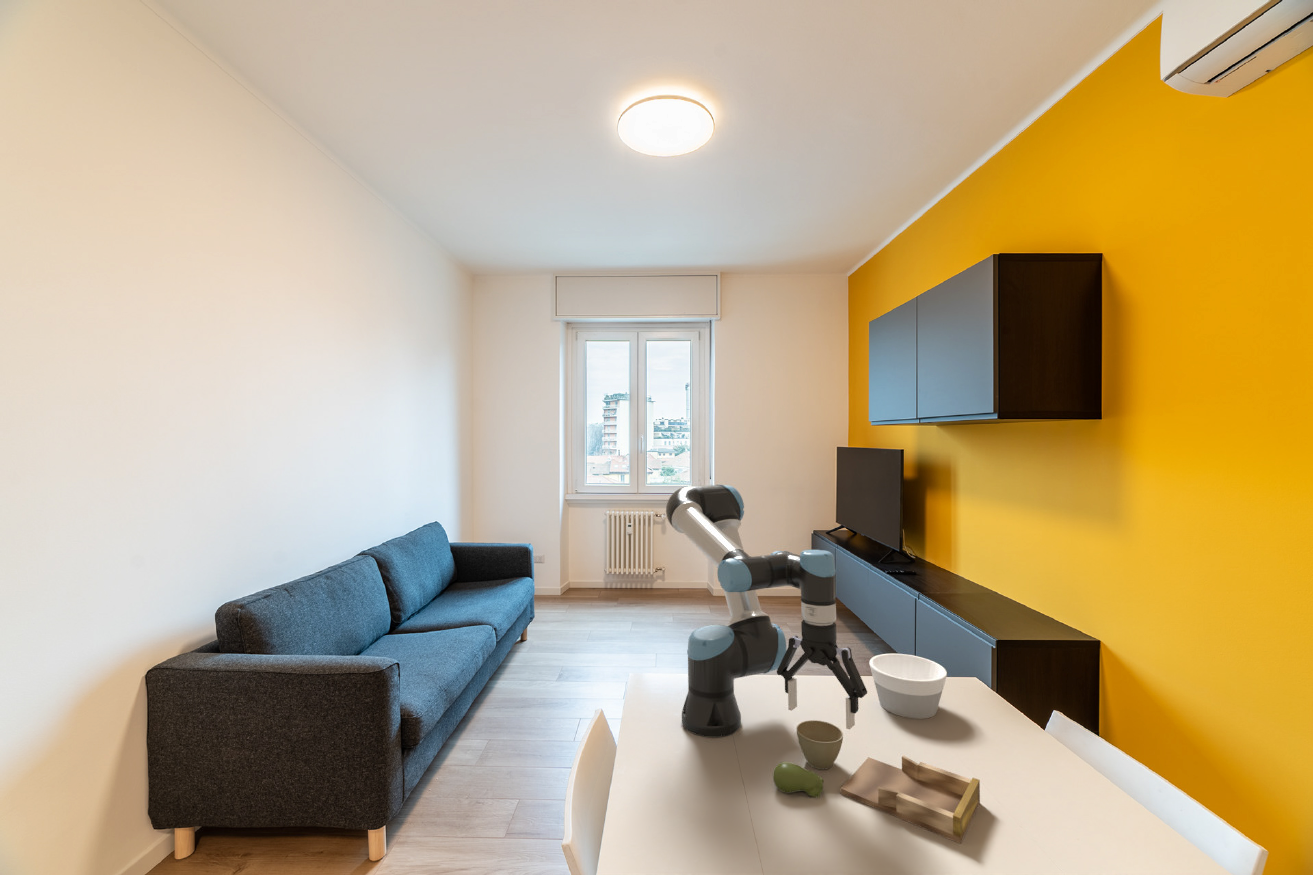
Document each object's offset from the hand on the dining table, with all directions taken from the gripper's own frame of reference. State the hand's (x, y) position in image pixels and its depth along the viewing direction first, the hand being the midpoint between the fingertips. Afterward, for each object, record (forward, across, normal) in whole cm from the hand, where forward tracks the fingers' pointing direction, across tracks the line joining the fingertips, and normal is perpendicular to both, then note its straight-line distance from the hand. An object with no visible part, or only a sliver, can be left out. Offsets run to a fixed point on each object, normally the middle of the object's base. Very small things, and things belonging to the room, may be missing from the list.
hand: (820, 717), depth 124 cm
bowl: (+10, +6, +41) cm, 43 cm away
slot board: (+10, +18, 0) cm, 21 cm away
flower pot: (+10, 0, 0) cm, 11 cm away
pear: (+11, 0, -12) cm, 16 cm away
